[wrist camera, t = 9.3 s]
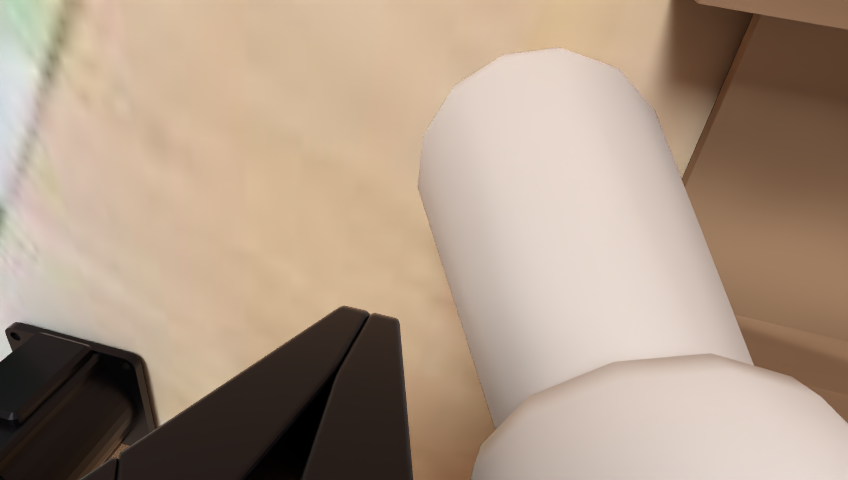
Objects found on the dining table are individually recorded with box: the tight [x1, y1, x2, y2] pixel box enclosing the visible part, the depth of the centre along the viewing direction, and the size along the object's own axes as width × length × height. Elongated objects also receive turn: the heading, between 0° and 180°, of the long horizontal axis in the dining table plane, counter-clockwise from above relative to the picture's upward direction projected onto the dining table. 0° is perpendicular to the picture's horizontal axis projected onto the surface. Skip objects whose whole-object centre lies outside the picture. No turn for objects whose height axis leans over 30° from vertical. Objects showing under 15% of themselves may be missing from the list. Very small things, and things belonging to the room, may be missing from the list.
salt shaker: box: [418, 47, 848, 480], centre depth 10 cm, size 6×6×13 cm
